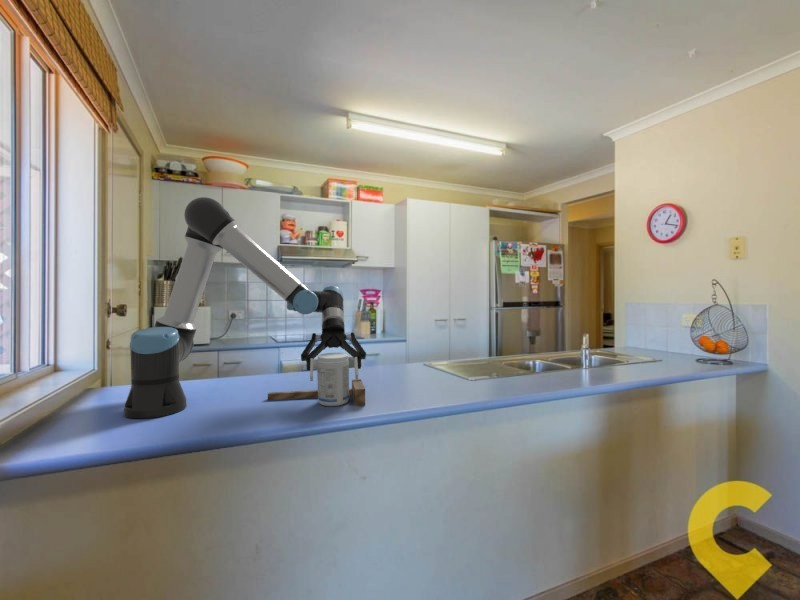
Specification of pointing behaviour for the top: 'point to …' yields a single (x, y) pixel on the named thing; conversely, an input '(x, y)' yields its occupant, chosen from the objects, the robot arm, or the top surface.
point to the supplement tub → (333, 379)
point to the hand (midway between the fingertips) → (334, 378)
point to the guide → (356, 392)
